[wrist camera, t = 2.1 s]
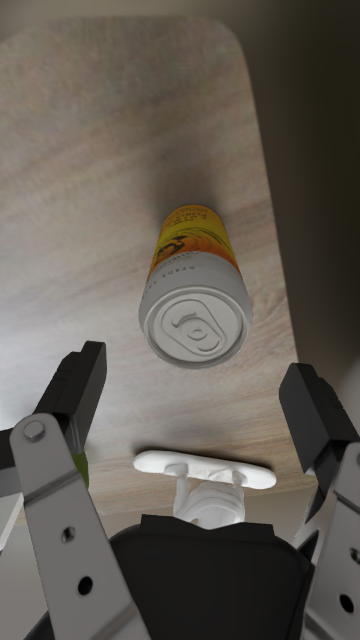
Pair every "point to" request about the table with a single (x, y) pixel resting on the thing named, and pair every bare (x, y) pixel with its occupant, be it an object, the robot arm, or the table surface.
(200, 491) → the figurine
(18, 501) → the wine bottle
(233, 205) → the table surface
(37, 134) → the table surface
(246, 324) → the beer can
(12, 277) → the table surface
